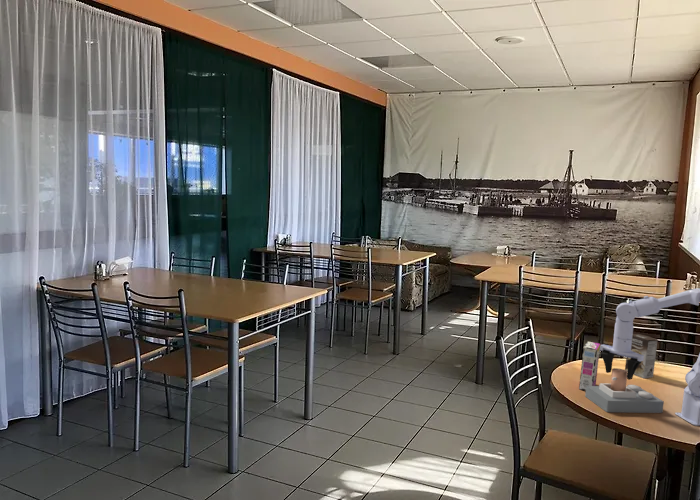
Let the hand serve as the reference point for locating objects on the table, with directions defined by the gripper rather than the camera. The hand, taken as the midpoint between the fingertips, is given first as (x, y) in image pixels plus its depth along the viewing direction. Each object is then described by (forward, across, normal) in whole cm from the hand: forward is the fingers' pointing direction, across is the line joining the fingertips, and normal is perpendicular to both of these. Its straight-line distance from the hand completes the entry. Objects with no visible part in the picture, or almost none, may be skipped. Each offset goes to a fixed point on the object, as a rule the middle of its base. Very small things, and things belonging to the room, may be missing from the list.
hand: (618, 375), depth 190 cm
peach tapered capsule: (+6, 0, 0) cm, 6 cm away
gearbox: (+10, -1, -2) cm, 11 cm away
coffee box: (+11, +14, -42) cm, 46 cm away
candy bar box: (+11, +15, -7) cm, 20 cm away
